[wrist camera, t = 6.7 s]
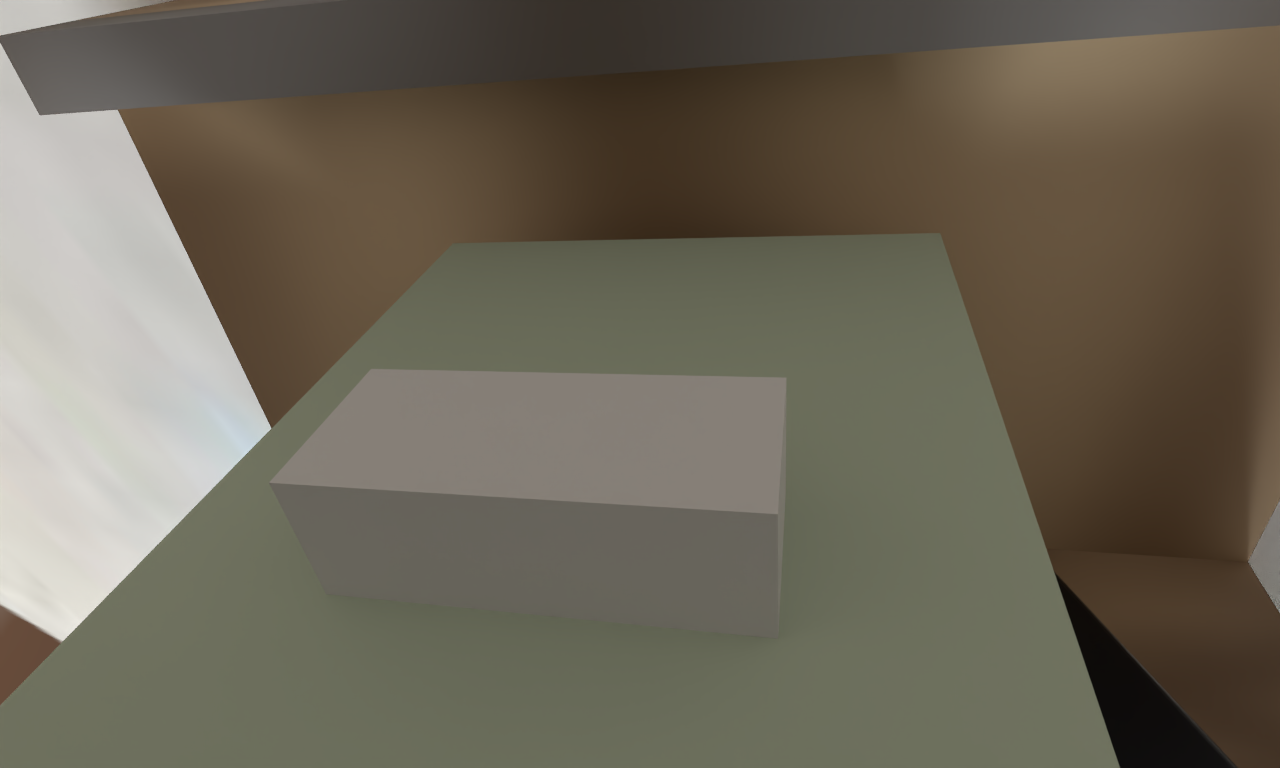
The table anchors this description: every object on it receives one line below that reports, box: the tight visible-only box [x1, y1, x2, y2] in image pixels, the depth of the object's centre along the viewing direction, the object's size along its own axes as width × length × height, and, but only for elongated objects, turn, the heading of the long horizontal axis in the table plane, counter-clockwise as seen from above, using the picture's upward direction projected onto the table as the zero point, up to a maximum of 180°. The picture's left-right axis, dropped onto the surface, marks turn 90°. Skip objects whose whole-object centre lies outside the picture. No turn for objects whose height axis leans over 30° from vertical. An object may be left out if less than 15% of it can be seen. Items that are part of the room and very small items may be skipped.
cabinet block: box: [0, 233, 1120, 768], centre depth 6 cm, size 5×6×6 cm
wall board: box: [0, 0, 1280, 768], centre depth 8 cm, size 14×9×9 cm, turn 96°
